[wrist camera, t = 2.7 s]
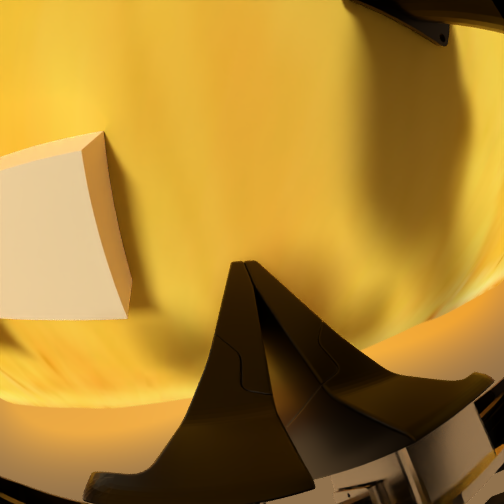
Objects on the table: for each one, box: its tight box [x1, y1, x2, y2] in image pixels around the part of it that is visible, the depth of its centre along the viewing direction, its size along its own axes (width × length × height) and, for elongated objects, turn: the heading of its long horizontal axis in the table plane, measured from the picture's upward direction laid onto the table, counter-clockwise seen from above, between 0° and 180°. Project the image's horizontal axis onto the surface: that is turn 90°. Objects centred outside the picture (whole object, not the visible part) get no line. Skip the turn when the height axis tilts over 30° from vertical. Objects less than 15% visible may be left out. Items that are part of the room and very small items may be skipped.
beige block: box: [0, 131, 133, 320], centre depth 9 cm, size 10×8×3 cm
